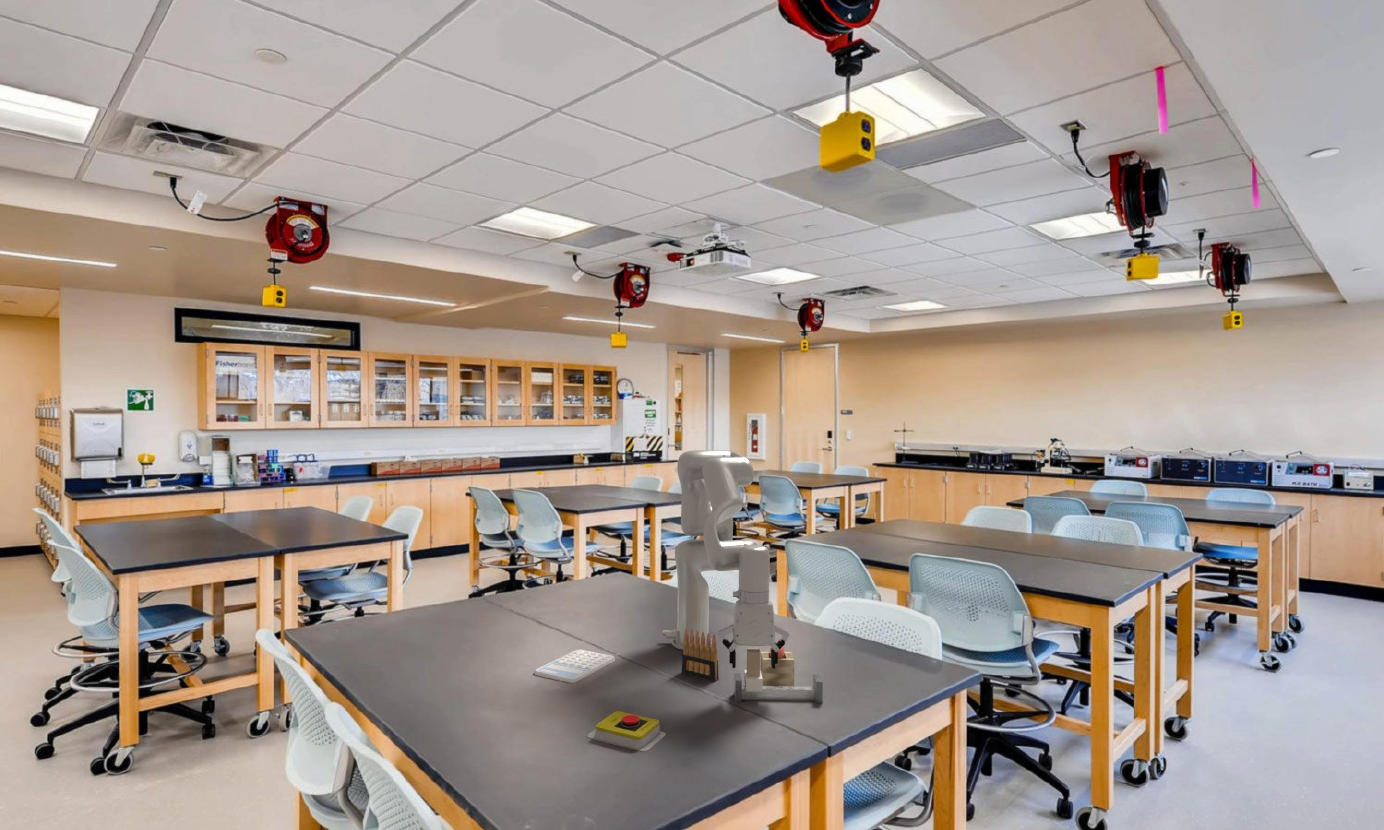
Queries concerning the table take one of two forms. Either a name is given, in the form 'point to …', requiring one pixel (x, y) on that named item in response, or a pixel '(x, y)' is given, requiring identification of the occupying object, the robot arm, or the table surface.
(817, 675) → the rail
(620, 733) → the emergency button
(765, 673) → the wooden box
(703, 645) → the ammunition clip
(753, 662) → the carriage
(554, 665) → the calculator
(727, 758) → the table surface
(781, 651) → the button
